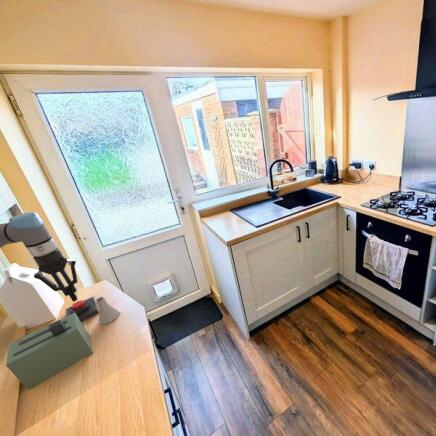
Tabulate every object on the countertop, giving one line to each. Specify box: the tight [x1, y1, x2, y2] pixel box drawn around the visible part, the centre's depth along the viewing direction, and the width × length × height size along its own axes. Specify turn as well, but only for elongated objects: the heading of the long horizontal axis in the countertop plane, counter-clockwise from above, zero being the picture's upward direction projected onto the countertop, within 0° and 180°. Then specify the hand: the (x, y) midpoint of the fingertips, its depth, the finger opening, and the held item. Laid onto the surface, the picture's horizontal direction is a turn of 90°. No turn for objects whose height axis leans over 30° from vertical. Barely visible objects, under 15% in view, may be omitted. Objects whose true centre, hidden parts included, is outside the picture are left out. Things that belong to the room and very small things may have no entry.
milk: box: [0, 262, 65, 330], centre depth 102 cm, size 12×12×26 cm
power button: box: [71, 299, 85, 310], centre depth 104 cm, size 4×4×2 cm
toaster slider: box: [48, 319, 66, 337], centre depth 81 cm, size 2×3×4 cm
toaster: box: [5, 313, 94, 391], centre depth 83 cm, size 11×17×12 cm, turn 133°
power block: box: [65, 296, 99, 323], centre depth 105 cm, size 12×10×4 cm
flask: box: [95, 296, 121, 325], centre depth 100 cm, size 7×7×10 cm
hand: (75, 299), depth 103 cm, fingers closed
